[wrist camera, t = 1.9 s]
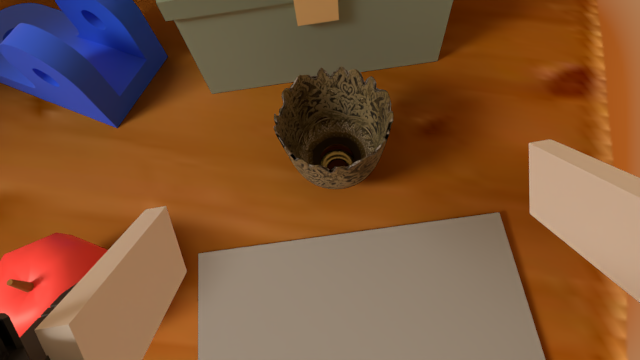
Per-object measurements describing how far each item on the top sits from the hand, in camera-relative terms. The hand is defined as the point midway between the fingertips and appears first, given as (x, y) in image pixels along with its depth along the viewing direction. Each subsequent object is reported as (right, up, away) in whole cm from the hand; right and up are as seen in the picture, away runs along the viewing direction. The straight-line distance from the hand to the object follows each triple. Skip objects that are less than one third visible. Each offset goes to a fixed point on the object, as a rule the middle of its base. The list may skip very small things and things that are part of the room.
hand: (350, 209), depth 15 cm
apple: (-18, -8, +16) cm, 25 cm away
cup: (0, +2, +18) cm, 19 cm away
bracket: (-25, +12, +25) cm, 38 cm away
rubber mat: (+2, -8, +14) cm, 16 cm away
